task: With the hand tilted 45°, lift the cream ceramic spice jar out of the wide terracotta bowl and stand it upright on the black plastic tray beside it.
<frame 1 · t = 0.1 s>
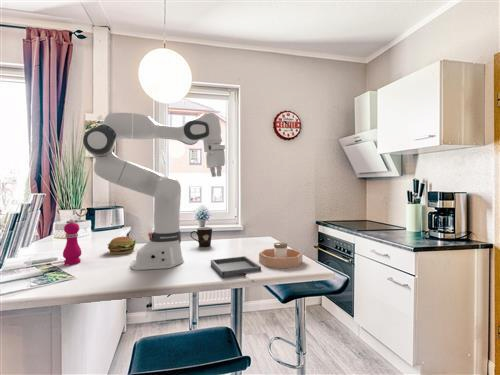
hand: (216, 176, 140), 39 cm above the breakfast bar, tool pointing down, fingers open, 8 cm apart
spice jar: (280, 261, 129), point 1 cm above the breakfast bar, touching bowl
bowl: (280, 264, 129), on the breakfast bar
tray: (234, 269, 122), on the breakfast bar
pepper mill: (72, 263, 133), on the breakfast bar
coffee mug: (202, 246, 167), on the breakfast bar
food: (121, 252, 153), on the breakfast bar
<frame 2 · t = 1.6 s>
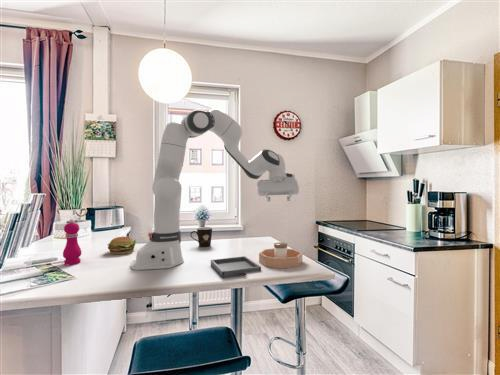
hand: (278, 200, 141), 27 cm above the breakfast bar, tool tilted 45°, fingers open, 8 cm apart
nothing on the breakfast bar moved.
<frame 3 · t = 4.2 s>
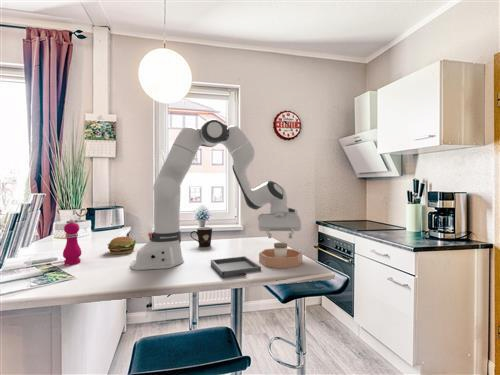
hand: (280, 237, 135), 11 cm above the breakfast bar, tool tilted 45°, fingers open, 8 cm apart
nothing on the breakfast bar moved.
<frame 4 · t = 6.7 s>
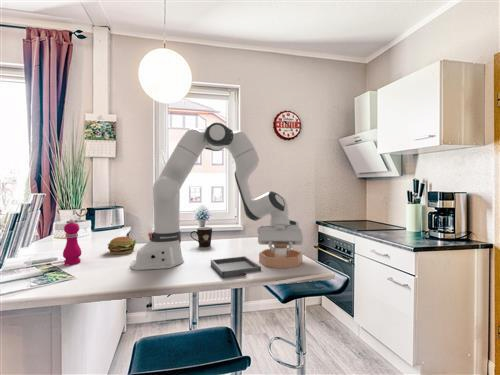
hand: (280, 251, 129), 6 cm above the breakfast bar, tool tilted 45°, fingers closed on spice jar, 5 cm apart
spice jar: (280, 261, 129), point 1 cm above the breakfast bar, touching bowl, gripper
everything else where it was.
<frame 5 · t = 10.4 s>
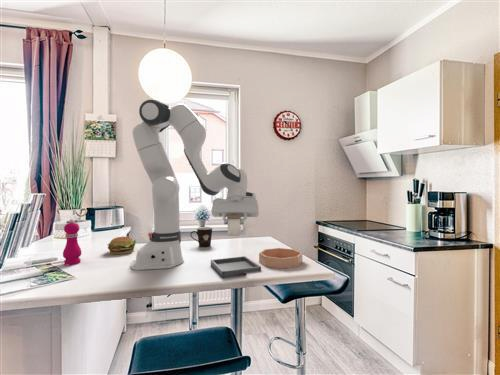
hand: (234, 223, 121), 19 cm above the breakfast bar, tool tilted 45°, fingers closed on spice jar, 5 cm apart
spice jar: (234, 234, 122), point 15 cm above the breakfast bar, touching gripper
everything else where it was.
when the fingers open (7 cm above the breakfast bar, at t = 14.2 s): spice jar drops 1 cm, resting on tray.
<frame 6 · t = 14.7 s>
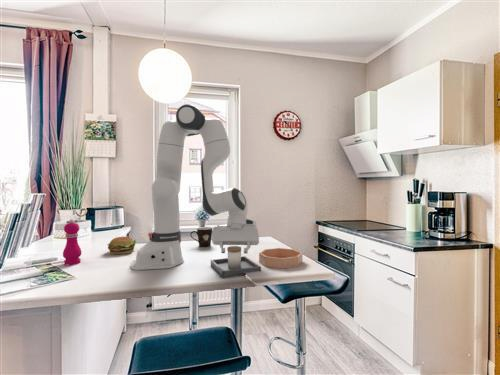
hand: (234, 252, 122), 7 cm above the breakfast bar, tool tilted 45°, fingers open, 8 cm apart
spice jar: (234, 266, 123), point 1 cm above the breakfast bar, touching tray
everything else where it was.
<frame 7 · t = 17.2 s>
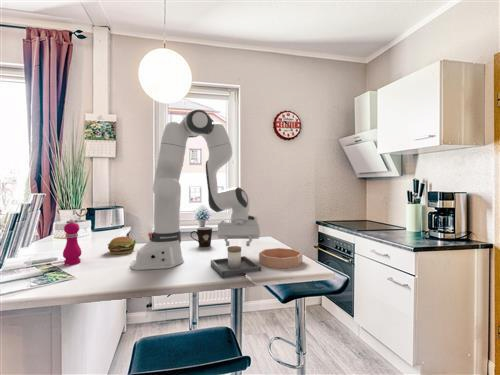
hand: (237, 245, 135), 7 cm above the breakfast bar, tool tilted 45°, fingers open, 8 cm apart
nothing on the breakfast bar moved.
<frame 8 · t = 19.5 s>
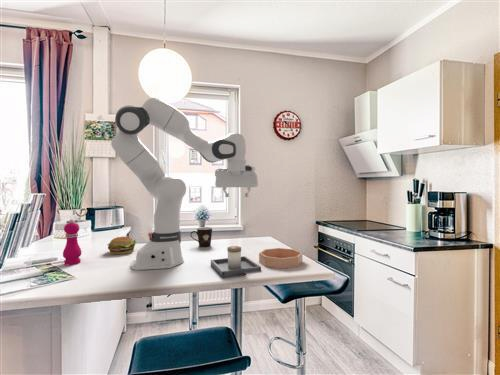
hand: (236, 196, 140), 29 cm above the breakfast bar, tool pointing down, fingers open, 8 cm apart
nothing on the breakfast bar moved.
at the end: spice jar inside the target area on the tray (0.1 cm from its centre), point 1.0 cm above the tray's base; spice jar tilted 0°; the gripper is holding nothing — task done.
